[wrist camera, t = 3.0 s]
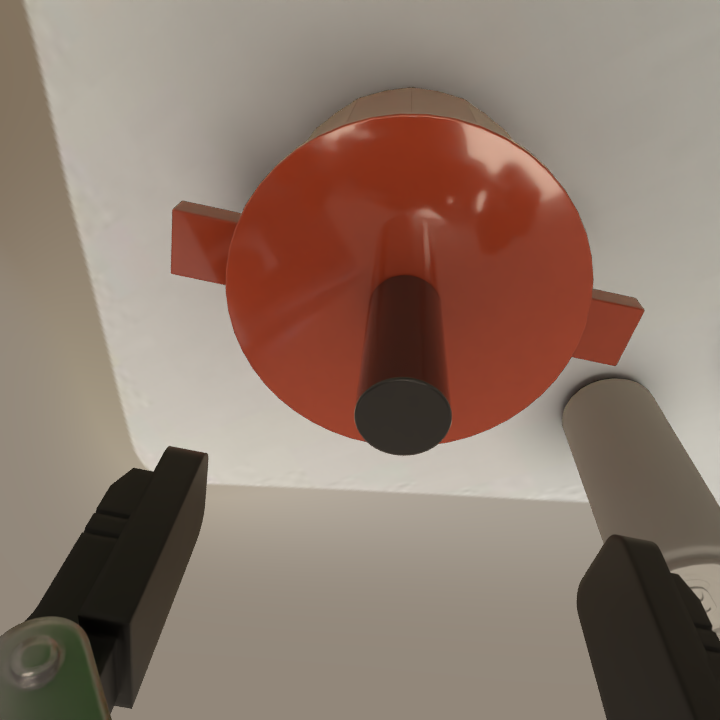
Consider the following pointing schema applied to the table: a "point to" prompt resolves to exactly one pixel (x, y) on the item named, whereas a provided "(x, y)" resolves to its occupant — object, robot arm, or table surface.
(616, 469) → the beverage can
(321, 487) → the table surface
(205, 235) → the pot
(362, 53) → the table surface
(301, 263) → the lid
